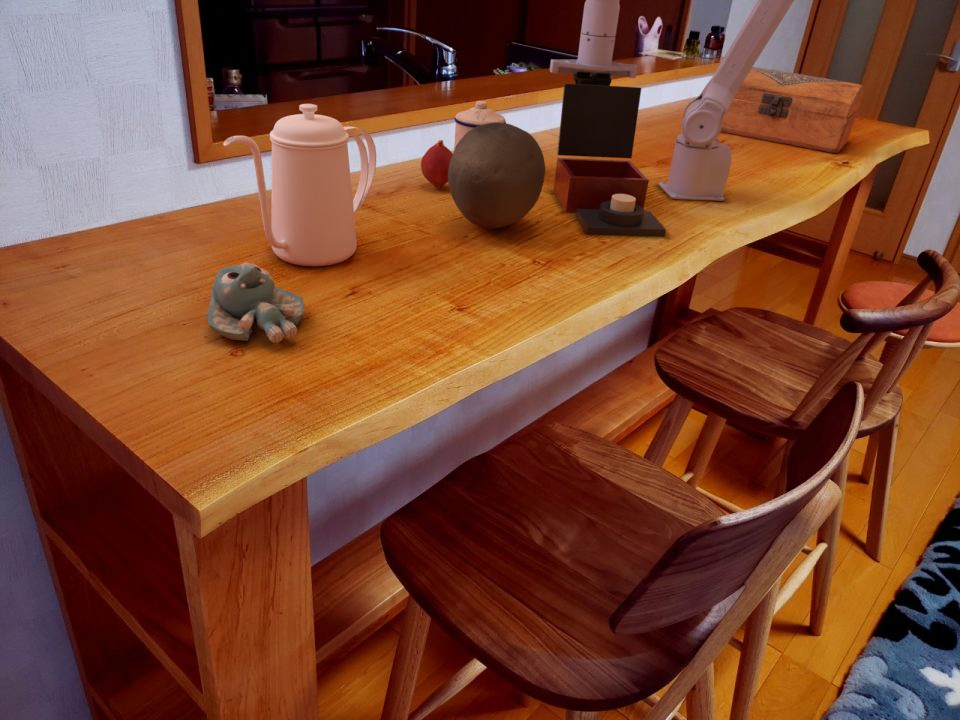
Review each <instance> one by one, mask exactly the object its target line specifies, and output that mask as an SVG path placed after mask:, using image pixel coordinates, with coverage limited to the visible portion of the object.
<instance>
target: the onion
mask: <svg viewBox="0 0 960 720" xmlns="http://www.w3.org/2000/svg"><path fill="white" fill-rule="evenodd" d="M452 155H453V152H452V151H451V149H449V148H448V146H446V145H445V144H444V140H442V139H439V140H438V141H437V142H436V143H434V145H431V147H429V148H428V149H427V151H426V152H425V153H424V154H423V156H422V158H421V160H420V169H421V174H422V175H423V177H424V178H425V179H426V180H427V182H428V183H430V185H432V186H433V187H434V188H435V189H441V188H443V187H444V186H445V185H446V184H447V183H448V169H449V164H450V161H451V158H452Z"/></svg>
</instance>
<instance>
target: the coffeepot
mask: <svg viewBox="0 0 960 720" xmlns="http://www.w3.org/2000/svg"><path fill="white" fill-rule="evenodd" d="M298 108H299V111H300V112H302V113H298V114H292V115H287V116H283V117H281V118H279V119H278V120H277V121H276V122H275V123H274V126H273V129H272V130H271V131H270V132H269V140H270V142H271V211H270V208H269V200H268V194H267V187H266V179H265V174H264V165H263V160H262V159H263V158H262V153H261V151H260V148H259V146H258V144H257V142H256V140H254V139H252V138H251V137H249V136H246V135H232V136H230V137H228V138H226V139H225V140H224V141H223V146H224V147H227V146H231V145H245V146H248V148H249V149H250V151H251V153H252V157H253V165H254V171H255V177H256V184H257V191H258V199H259V206H260V211H261V218H262V225H263V230H264V235H265V238H266V240H267V242H268V243H269V244H270V246H271V250H272V252H273V253H274V254H275V255H276V256H277V257H278V258H279V259H281V260H282V261H284V262H287V263H289V264H293V265H296V266H302V267H304V266H305V267H324V266H331V265H337V264H339V263H342V262H344V261H346V260H348V259H349V258H351V257H352V256H353V255H354V253H355V252H356V250H357V247H358V240H357V228H356V220H355V215H356V213H357V212H358V211H360V209H361V207H362V205H363V204H364V203H365V200H366V199H367V197H368V195H369V193H370V190H371V188H372V185H373V183H374V178H375V174H376V168H377V149H376V145H375V142H374V139H373V137H372V135H371V134H370V133H369V132H368V130H365V129H364V128H360V127H356V126H351V125H349V126H343V124H342V123H341V122H340V121H339V120H338V119H336V118H333V117H331V116H327V115H323V114H316V112H317V111H318V105H317V104H313V103H302V104H299V105H298ZM355 130H357V131H358V132H360V133H361V135H362V136H363V137H364V139H365V142H366V144H365V143H364V141H363V139H362V138H361V137H360V136H359V135H358V134H357V133H355V132H353V131H355ZM350 136H351V137H352V138H353V140H354V141H355V143H356V145H357V148H358V152H359V157H360V175H359V176H360V177H359V181H358V186H357V190H356V192H355V195H354V196H353V189H352V188H353V187H352V178H351V168H350V167H351V166H350V155H349V148H348V147H349V146H348V143H349V141H350ZM366 146H367V147H366ZM270 212H271V214H270Z"/></svg>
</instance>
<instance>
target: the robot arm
mask: <svg viewBox="0 0 960 720" xmlns="http://www.w3.org/2000/svg"><path fill="white" fill-rule="evenodd" d="M794 2H795V0H757V2H756V4H755V6H754V7H753V9H752V10H751V12H750V13H749V15H748V17H747V19H746V20H745V22H744V24H743V25H742V27H741V28H740V30H739V32H738V34H737V36H736V37H735V39H734V41H732V43H731V45H730V47H729V48H728V50H727V52H726V54H725V55H724V57H723V59H722V61H721V62H720V63H719V65H718V66H717V69H716V70H715V72H714V73H713V75H712V77H711V79H709V81H708V82H707V83H706V85H705V86H704V88H703V90H702V91H701V93H700V94H699V95H698V96H697V97H696V98H694V99H692V100H691V101H690V102H688V104H687V105H686V107H685V109H684V111H683V116H682V117H683V119H682V122H681V133H680V134H677V136H676V138H675V141H674V142H675V143H674V148H673V153H672V157H671V162H670V167H669V173H668V177H667V180H666V181H667V182H664V181H663V182H662V181H659V182H658V186H659V187H660V189H662V190H663V191H664V192H665V193H666V194H667V195H668V197H670V198H671V199H672V200H692V201H693V200H694V201H715V202H716V201H717V202H718V201H719V202H721V201H722V202H724V201H725V197H724V193H725V190H726V186H727V182H728V178H729V173H730V169H731V165H732V150H731V148H730V146H729V145H728V144H725V143H720V139H719V138H718V137H719V136H720V134H721V133H722V132H721V128H722V120H723V117H724V115H725V114H726V112H727V110H728V109H729V106H730V104H731V102H732V100H733V98H734V96H735V94H736V92H737V91H738V89H739V87H740V86H741V84H742V83H743V81H744V79H745V78H746V76H747V75H748V73H749V72H750V70H751V68H752V67H754V65H755V64H756V62H757V60H758V59H759V58H760V56H761V55H762V53H763V52H764V49H765V48H766V46H767V44H768V43H769V41H770V40H771V38H772V36H773V35H774V34H775V32H776V31H777V29H778V27H779V25H780V24H781V22H782V21H783V20H784V18H785V16H786V14H787V13H788V11H789V10H790V8H791V7H792V5H793V3H794ZM620 9H621V5H620V0H585V2H584V6H583V13H582V22H581V29H580V37H579V45H578V53H577V59H552V58H551V59H550V63H549V72H550V73H551V74H555V75H556V74H570V75H572V77H573V80H574V84H586V85H605V86H611V83H612V81H613V80H612V78H611V77H621V78H623V77H624V78H629V79H636V77H637V72H638V65H636V64H635V63H624V62H617V61H613V56H614V55H613V54H614V49H615V42H616V36H617V30H618V29H617V28H618V22H619V14H620Z"/></svg>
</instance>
